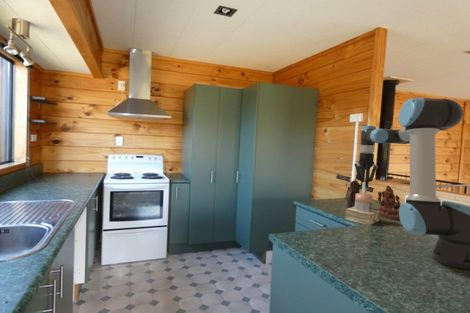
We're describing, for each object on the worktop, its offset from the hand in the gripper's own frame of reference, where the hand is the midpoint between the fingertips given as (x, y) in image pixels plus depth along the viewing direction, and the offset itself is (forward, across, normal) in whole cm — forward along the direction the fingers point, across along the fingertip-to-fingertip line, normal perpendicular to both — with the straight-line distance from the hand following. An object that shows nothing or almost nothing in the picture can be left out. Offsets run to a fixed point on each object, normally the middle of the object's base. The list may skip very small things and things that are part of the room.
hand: (363, 193), depth 167 cm
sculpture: (+16, -8, -21) cm, 28 cm away
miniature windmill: (+16, +16, -24) cm, 33 cm away
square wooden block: (+16, 0, 0) cm, 16 cm away
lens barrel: (+10, 0, 0) cm, 10 cm away
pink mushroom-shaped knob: (+10, 0, 0) cm, 10 cm away
